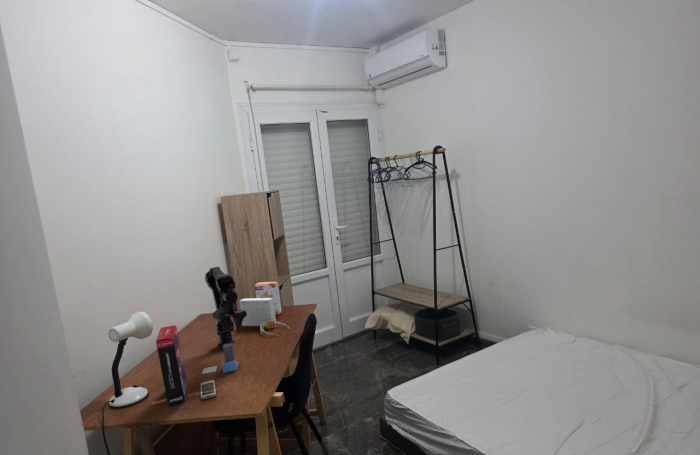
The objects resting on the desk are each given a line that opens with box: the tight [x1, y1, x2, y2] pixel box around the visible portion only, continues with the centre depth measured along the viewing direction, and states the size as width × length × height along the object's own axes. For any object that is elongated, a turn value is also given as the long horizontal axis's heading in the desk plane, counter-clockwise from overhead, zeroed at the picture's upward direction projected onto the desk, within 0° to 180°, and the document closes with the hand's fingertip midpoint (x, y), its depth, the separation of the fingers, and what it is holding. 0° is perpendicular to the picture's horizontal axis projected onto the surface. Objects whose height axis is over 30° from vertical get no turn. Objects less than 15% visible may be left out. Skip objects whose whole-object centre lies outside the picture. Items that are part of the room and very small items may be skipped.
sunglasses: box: [259, 320, 291, 337], centre depth 229 cm, size 14×15×5 cm
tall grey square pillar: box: [222, 342, 236, 362], centre depth 186 cm, size 4×4×10 cm
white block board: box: [201, 359, 239, 375], centre depth 186 cm, size 20×13×5 cm, turn 103°
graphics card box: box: [155, 324, 188, 407], centre depth 165 cm, size 17×7×27 cm, turn 20°
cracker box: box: [254, 281, 282, 316], centre depth 261 cm, size 14×6×21 cm, turn 81°
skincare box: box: [238, 297, 277, 327], centre depth 243 cm, size 21×6×16 cm, turn 71°
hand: (231, 330), depth 202 cm, fingers open, 9 cm apart
